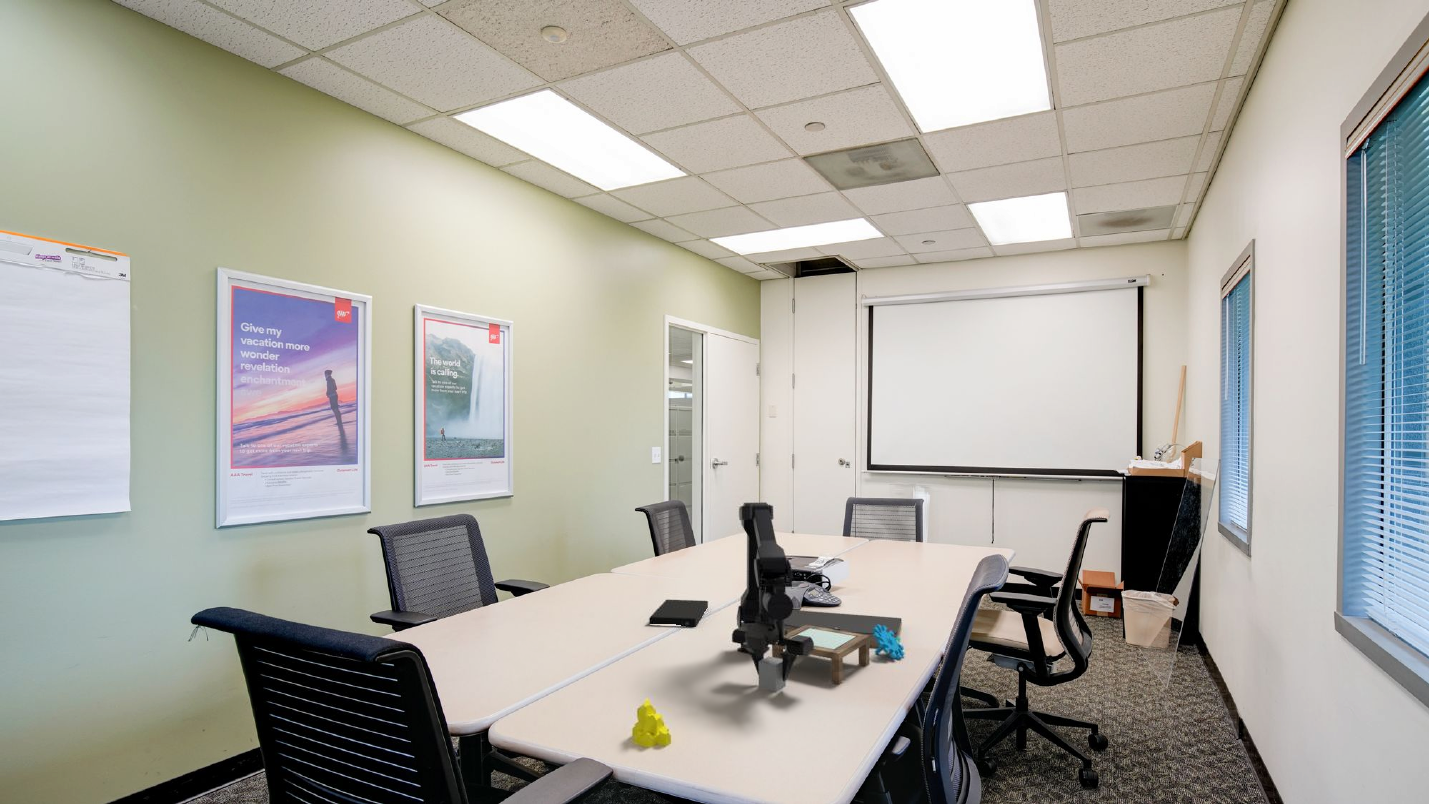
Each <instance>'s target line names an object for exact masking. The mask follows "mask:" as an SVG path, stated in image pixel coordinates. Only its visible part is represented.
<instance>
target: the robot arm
mask: <svg viewBox="0 0 1429 804" xmlns="http://www.w3.org/2000/svg"><path fill="white" fill-rule="evenodd" d="M738 517H739V521H740V524H741V526H742V528H743V530H744V531H745V534H746V589H745V590H744V591H743V593H742V594H741V596H740V605H738V607H737V613H736V626H737V628H735V629H734V630H733V631H732V634H731V642H732V643H735V644H740V647H738V648H737V651H738V652H743V653H747V654H750V656H751V658H752V661H753V663H754V664H753V665H754V667H755V670H756V673H757V675H758V676H759V661H761V660H763V659H764V656H765V652H766V651H768V650H770V646H772V645H774V644H775V645H780V646H785V650H783V652H782V653H780V655H781V657H782V659H783V663H782V678H783V681H786V682H787V679H788V678H789V675H790V673H791V671H792V670H791V669H792V667H793V665H794V663H795V660H796V659H797V657H798V656H805V655H808V654H807V653H809V652H810V651H812V650H814V642H813V640H812V638H811V637H807V636H801V635H796V636H794V637H792V638H785V635H787V630H784V619H786V618H788V617H789V616H790V615H791V613H792V611H793V610H794V603H793V600H792V599H791V597H790V595H789V594H787V592H786V591H787V590H786V587H793V582H794V574H793V569H792V564H791V563H790V560H789V558H787V557H786V553H785V550H784V548H783V547H781V546H780V545H779V544H778V543H777V540H776V539H777V538H776V534H775V529H774V524H773V521H772V520H774V506H773V505H772V504H768V503H767V502H763V501H762V502H743V505H740V506H739V508H738ZM778 640H779V641H778ZM769 645H770V646H769Z"/></svg>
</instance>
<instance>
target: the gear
mask: <svg viewBox="0 0 1429 804" xmlns="http://www.w3.org/2000/svg"><path fill="white" fill-rule="evenodd" d="M881 628H882V629H881ZM886 630H887V627H885V626H882V627H881V625H876V627H875V628H874V629H873V631H874V632H875V633H874V634H873V636H874V638H876V639H878V641H877V644H878V645H879V646H880V647H877V648H876V650H875V651H874V653H875V655H879V654H880V653H881V652H882V651H883V652H884V653H885V654H886V655H887V654H888V653H889V652H890V654H889V656H890V658H893V659H897V660H902V659H903V657H904V655H905V651H903V650H904V648H905V647H904V646H903V644H901V643H900V642H901V636H897V637H896V638H894V637H892V636H893V635H894V633H893V632H892V631H891V630H890V631H889V632H888V633H887V632H886Z"/></svg>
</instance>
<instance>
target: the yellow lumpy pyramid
mask: <svg viewBox="0 0 1429 804" xmlns="http://www.w3.org/2000/svg"><path fill="white" fill-rule="evenodd" d="M636 718H637V720H638V721H637V722H635V724H634V727H632V730H631V731H632V734H631V736H632V737H633V744H636V745H638V746H641V747H644V748H648V749H650V748H652V747H654V746H656V745H660V746H663V747H667V746H670V745H671V744H672V735H671V734H670V732H669V730H670V728H667V726H666V725H665V722H664V718H663V716H662V714H661V713H657V710H656V708H655V707H654V706H653V705H652V704H651V703H650V701H649V699H648V697H646V698H645V701H644V703H643V704H642V705H641V706H639V707H638V708H637V709H636Z"/></svg>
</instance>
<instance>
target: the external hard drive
mask: <svg viewBox="0 0 1429 804" xmlns="http://www.w3.org/2000/svg"><path fill="white" fill-rule="evenodd" d="M707 608H708V609H709V601H708V600H697V599H695V600H693V599H691V600H690V599H689V600H688V599H665V600H664V601H663V603H662V604H661V605H660V606H659V607H658V608H657V609H656V610H655V611H654V612H653V613H652V615H650V616H649V619H648V620H649V621H648V622H649V624H676V625H681V626H686V627H685V628H693V627H696V628H697V626H698V625H699V623H700V622H701V620H702V619H703V617H704V616H703V614H704V612H705V611H706V609H707ZM708 609H707V610H708ZM706 612H707V611H706ZM704 615H705V614H704ZM702 616H703V617H702ZM699 621H700V622H699ZM649 624H648V625H649Z"/></svg>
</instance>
